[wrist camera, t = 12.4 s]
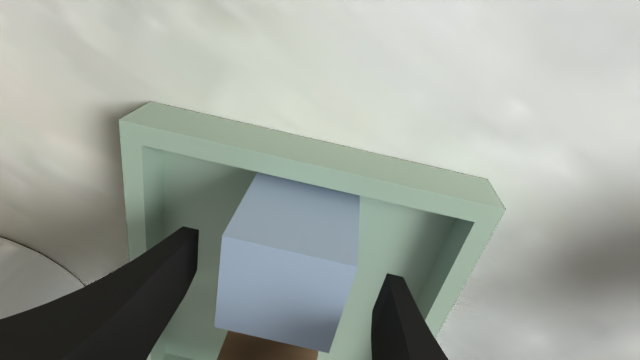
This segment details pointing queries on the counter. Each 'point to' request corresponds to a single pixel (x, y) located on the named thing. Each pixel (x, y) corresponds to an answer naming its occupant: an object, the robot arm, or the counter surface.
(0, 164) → the counter surface
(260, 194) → the bluegrey block
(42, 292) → the utensil holder
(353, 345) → the tray
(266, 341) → the walnut block
